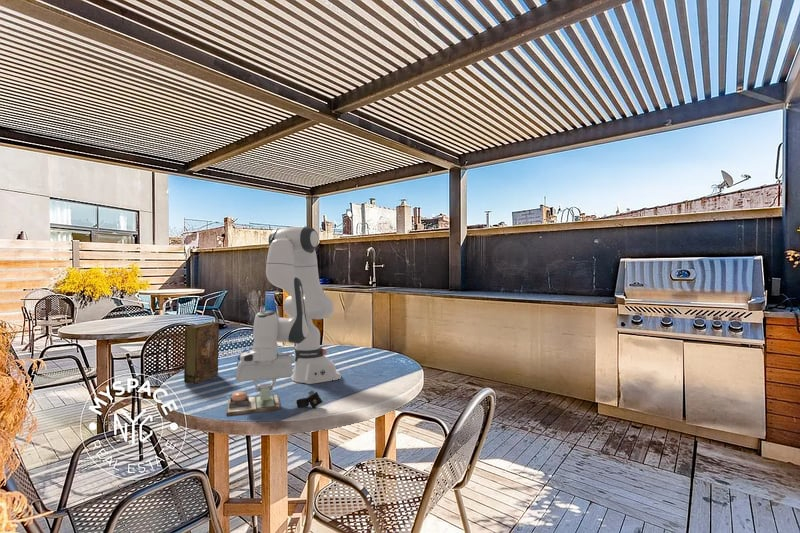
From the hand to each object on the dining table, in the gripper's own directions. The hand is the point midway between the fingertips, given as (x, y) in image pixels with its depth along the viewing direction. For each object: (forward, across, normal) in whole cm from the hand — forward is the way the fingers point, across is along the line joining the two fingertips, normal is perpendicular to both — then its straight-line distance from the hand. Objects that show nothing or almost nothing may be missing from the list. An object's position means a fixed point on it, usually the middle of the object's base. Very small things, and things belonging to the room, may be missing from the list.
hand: (264, 390), depth 146 cm
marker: (+2, 0, +1) cm, 2 cm away
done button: (+2, +9, +1) cm, 9 cm away
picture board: (+5, +4, +1) cm, 6 cm away
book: (+5, +25, -43) cm, 50 cm away
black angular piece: (+5, -15, +10) cm, 19 cm away
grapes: (+5, +5, -50) cm, 51 cm away
